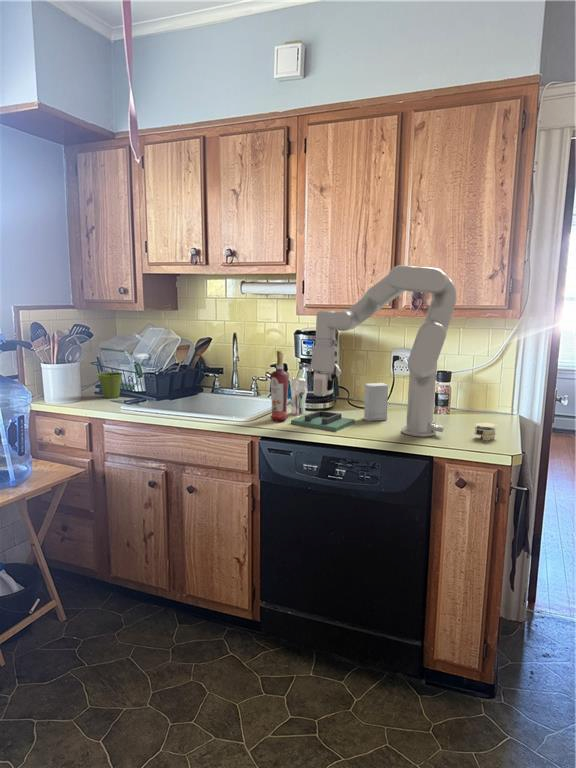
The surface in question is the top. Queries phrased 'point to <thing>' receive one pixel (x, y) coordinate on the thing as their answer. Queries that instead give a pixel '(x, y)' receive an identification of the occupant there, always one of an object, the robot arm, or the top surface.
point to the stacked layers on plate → (485, 430)
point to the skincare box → (376, 401)
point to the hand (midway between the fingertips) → (323, 388)
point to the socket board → (323, 421)
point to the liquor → (279, 390)
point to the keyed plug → (321, 384)
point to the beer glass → (298, 395)
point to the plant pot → (110, 383)
